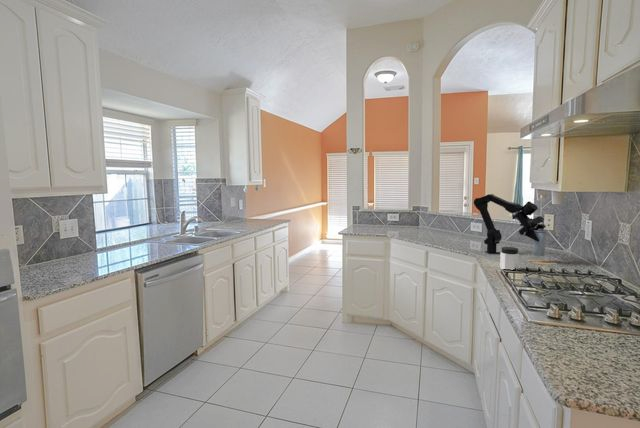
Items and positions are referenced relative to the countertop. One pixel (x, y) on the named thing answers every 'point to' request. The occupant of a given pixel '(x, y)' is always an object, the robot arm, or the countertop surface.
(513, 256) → the jar
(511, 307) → the countertop surface
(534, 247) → the canister
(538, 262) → the coaster
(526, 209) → the robot arm
